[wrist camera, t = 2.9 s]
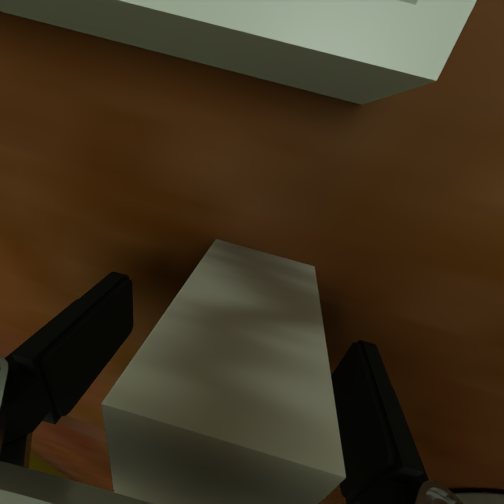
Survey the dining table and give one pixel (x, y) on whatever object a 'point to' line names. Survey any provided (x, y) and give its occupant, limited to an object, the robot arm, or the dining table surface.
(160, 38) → the sage bin
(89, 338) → the robot arm
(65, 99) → the dining table surface
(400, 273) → the dining table surface
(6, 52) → the dining table surface
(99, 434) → the dining table surface
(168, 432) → the cream block
